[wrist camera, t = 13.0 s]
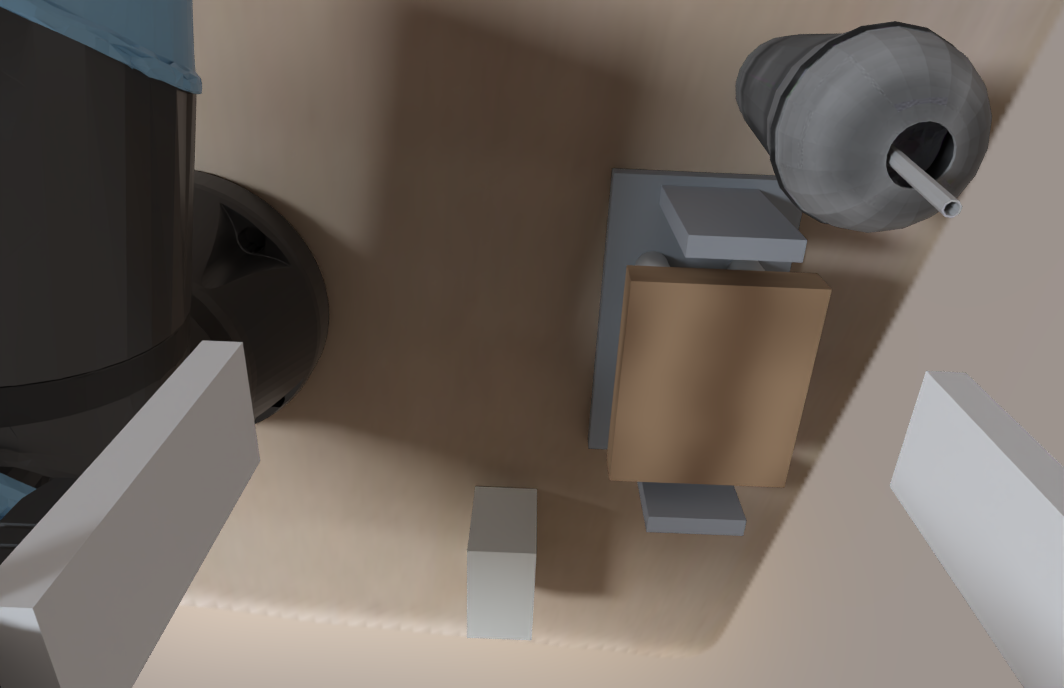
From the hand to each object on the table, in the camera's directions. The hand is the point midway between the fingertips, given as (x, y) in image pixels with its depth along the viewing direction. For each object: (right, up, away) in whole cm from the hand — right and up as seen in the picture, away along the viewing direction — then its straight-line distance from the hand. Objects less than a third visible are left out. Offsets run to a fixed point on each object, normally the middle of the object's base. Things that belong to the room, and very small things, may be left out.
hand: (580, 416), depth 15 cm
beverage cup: (+11, +14, +23) cm, 29 cm away
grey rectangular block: (-3, -11, +36) cm, 37 cm away
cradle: (+8, +3, +28) cm, 30 cm away
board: (+8, 0, +23) cm, 24 cm away
